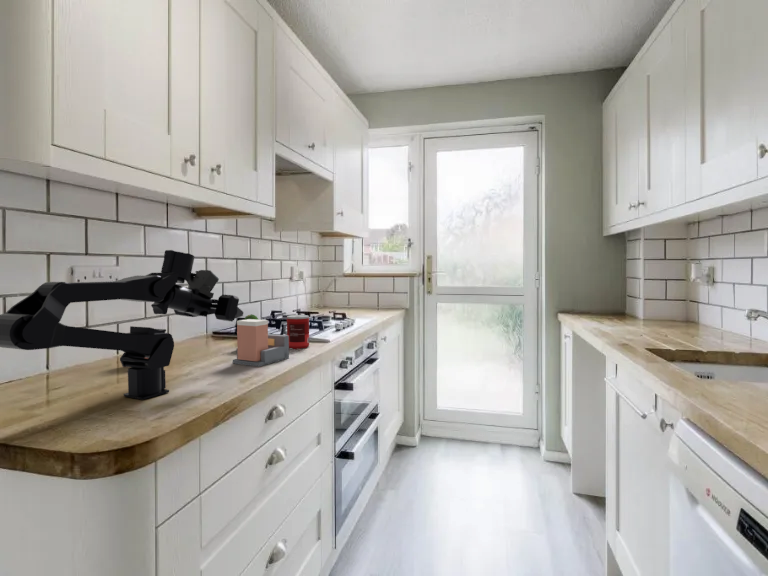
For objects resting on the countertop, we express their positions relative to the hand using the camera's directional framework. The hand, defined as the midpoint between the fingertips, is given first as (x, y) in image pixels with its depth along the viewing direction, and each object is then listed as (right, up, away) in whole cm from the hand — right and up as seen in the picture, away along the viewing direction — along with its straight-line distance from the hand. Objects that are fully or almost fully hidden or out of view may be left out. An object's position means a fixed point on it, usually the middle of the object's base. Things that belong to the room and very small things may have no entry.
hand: (229, 312), depth 116 cm
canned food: (+11, -14, +36) cm, 41 cm away
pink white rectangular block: (+3, -14, +10) cm, 18 cm away
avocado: (-4, -15, +32) cm, 36 cm away
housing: (+5, -15, +13) cm, 21 cm away
